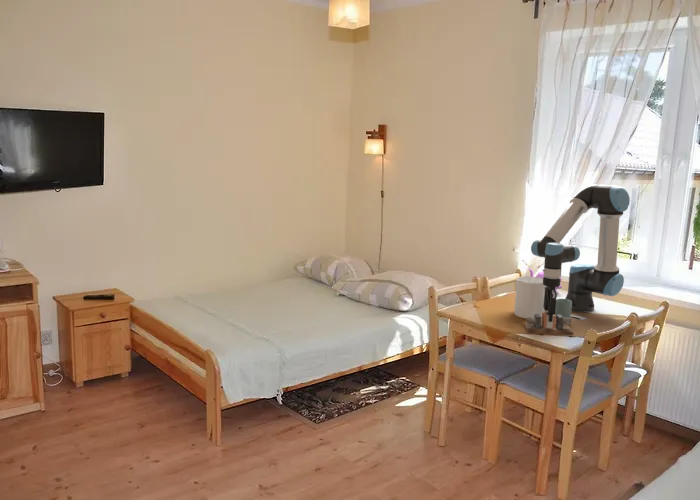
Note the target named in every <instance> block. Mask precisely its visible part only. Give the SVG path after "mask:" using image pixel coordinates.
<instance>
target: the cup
mask: <svg viewBox="0 0 700 500" xmlns="http://www.w3.org/2000/svg"><path fill="white" fill-rule="evenodd" d="M571 310H572V301H571V300H568V299H565V298H556V309H555V316H556V314H561V315H562V316H563V318H571V316H572V311H571Z"/></svg>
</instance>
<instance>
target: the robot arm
mask: <svg viewBox="0 0 700 500" xmlns="http://www.w3.org/2000/svg"><path fill="white" fill-rule="evenodd" d="M630 202H631V200H630V194H629V192H628V190H627V188H625V187H624V186H623V187H622V186H618V185H610V184H609V185H606V184H596V183H595V184H590V185H588V186H585V187H583V188H582V189H580V190H579V191H578V192H576V193H575V195H573V196H572V198H571V199H570V201H569V205H568V206H567V208H565V210H564V211H563V213H562V214H561V215H560V216H559V217H558V219H557V220H556V221H555V223H554V224H553V225H552V226H551V227H550V229H549V230H548V231H547V233H546V234H545V235H544V237H542V238H541V240H538V239H537V240H534V241H533V242H532V243H531V247H530V251H531V254H532V255H533V256H536V257H539V258H543V259H544V263H543V264H544V266H543V269H542V272H544V277H543V285H544V286H547V287H545V294H544V306H543V307H544V312H548V313H546V315H547V322H546V328H553V316H554V315H555V309H556V299H558V298H557V297H558V294H557V290H555V287H560V285H561V282H560V277H562V266H563V264H565V263H573V262H575V261H577V260H578V259H579V258H580V256H581V251H580V248H579V247H578V246H576V245H574V244H568V245H567V244H566V245H565V244H562V243H561V242H562V241H563V239H564V238H565V237H566V236H567V234H568V233H569V231H571V229H572V228H573V227H574V225H575V224H576V223H577V221H578V220H579V219H580V217H581V216H582V215H583V214H586V213H587V212H588V211H589V210H590V209H597V210H596V212H597V213H596V214H597V215H598V216H599V217H600V219H599V234H598V236H599V237H598V250H597V251H598V252H597V264H596V265H594V264H591V263H590V264H588V263H587V264H586V263H581V264H580V263H579V264H573V265H571V266H570V268H569V273H568V274H569V275H568V276H569V277H568V287H567V294H566V296H565V298H564V299H568V300H571V301H572V310H571V312H578V313H591V312H593V311H595V304H594V298H593V293H596V294H600V295H603V296H607V297H608V296H609V297H614V296H617V295H618V294H619V293H620V292H621V290H622V289H623V287H624V283H625V278H624V276H623V274H622V273H620V267H619V266H617V258H618V247H619V245H618V244H619V231H620V230H619V229H620V218H621V217H622V216H623V215H624V212H626V211H627V210H628V208H629V206H630V204H631V203H630Z"/></svg>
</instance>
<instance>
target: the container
mask: <svg viewBox="0 0 700 500" xmlns="http://www.w3.org/2000/svg"><path fill="white" fill-rule="evenodd" d="M545 287H547V286H544V285H543V278H538V277H536V276H534V277H530V276H519V277H516V281H515V293H514V294H515V298H514V310H513V311H514V312H513V314H514V315H515V316H516V317H519V318H523V319H527V317H534V316H535V314H539V315H540V316H541V319H542V312H544V307H543V306H544V294H545Z"/></svg>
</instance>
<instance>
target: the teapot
mask: <svg viewBox="0 0 700 500" xmlns="http://www.w3.org/2000/svg"><path fill="white" fill-rule="evenodd" d="M527 269H528V271H529V272H530V273H529V274H530V275H529V277H538V278H543V277H544V272H543V271H540V272H538V273H537V275H536V276H534V271H533V269H531V268H527ZM561 277H562V276H561ZM561 277H560V283H561V282H562V278H561ZM562 287H563V286H562V284H560V286H559V287H555V290H556V291H557V290H560V289H561V290H562Z"/></svg>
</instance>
